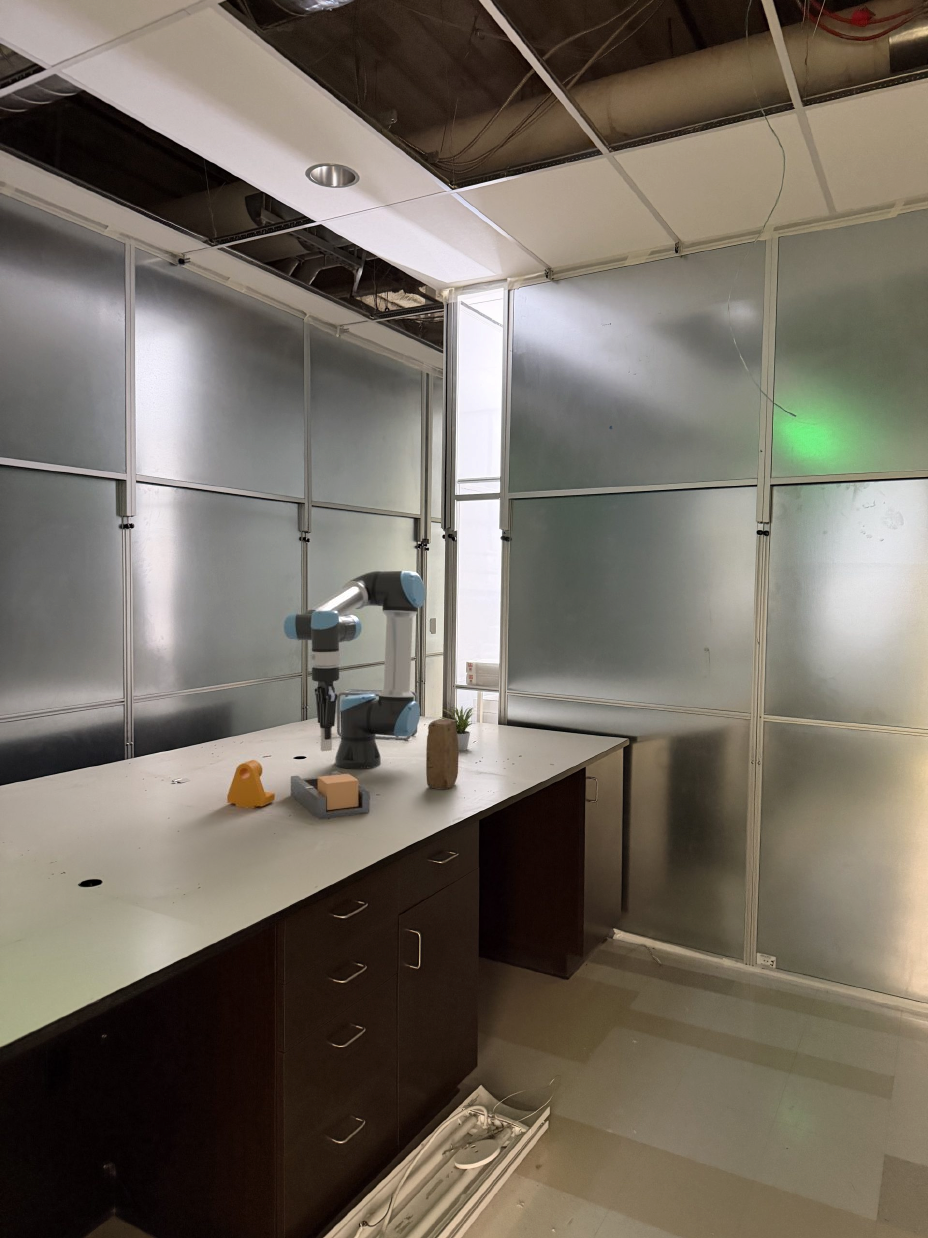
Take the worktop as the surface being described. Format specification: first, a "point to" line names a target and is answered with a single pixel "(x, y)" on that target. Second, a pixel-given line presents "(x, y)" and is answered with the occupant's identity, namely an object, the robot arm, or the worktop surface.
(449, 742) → the block
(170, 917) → the worktop surface
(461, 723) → the house plant
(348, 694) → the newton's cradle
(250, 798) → the bracket
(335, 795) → the slider block
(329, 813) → the chute
